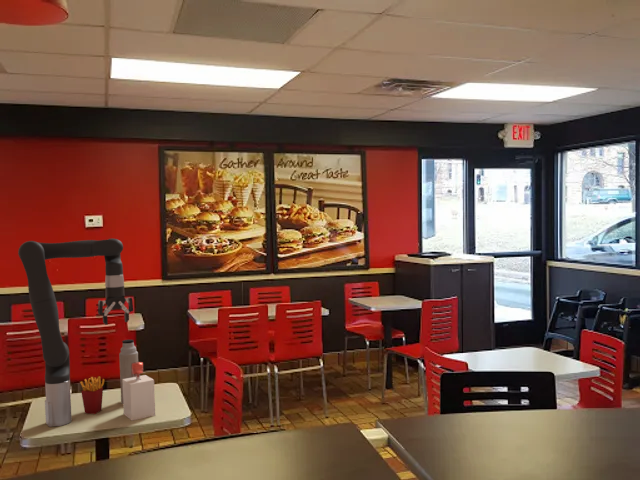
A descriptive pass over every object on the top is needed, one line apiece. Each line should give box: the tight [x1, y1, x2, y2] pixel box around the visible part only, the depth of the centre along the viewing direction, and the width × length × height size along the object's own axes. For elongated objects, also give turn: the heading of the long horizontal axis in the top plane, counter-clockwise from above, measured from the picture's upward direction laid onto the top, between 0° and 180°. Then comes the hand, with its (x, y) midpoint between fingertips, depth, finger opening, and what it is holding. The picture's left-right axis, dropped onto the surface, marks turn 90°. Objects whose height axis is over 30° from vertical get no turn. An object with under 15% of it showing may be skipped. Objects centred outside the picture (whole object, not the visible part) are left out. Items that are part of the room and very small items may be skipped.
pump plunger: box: [132, 361, 144, 381], centre depth 253 cm, size 4×4×20 cm
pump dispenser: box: [122, 374, 156, 421], centre depth 253 cm, size 10×10×15 cm
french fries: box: [79, 376, 106, 415], centre depth 259 cm, size 9×8×15 cm
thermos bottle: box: [119, 339, 139, 405], centre depth 270 cm, size 8×8×28 cm
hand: (116, 323), depth 256 cm, fingers open, 8 cm apart
